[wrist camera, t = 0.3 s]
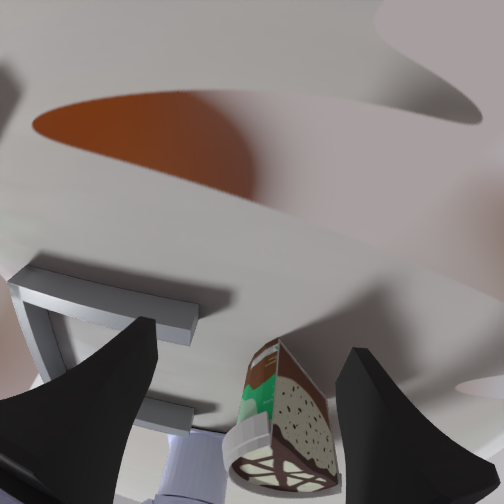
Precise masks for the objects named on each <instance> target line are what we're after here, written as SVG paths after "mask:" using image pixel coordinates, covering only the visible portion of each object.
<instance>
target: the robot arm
mask: <svg viewBox="0 0 504 504" xmlns="http://www.w3.org/2000/svg"><path fill="white" fill-rule="evenodd" d="M157 361H158V350H157V335H156V319H152V318H147V317H143V316H139V317H138V318H137V319H135V320H134V321H133V322H132V323H131V324H129V325H128V326H127V327H126V328H125V329H124V330H123V331H121V332H120V333H119V334H118V335H117V336H115V337H114V338H113V339H112V340H111V341H109V342H108V343H107V344H106V345H104V346H103V347H102V348H101V349H99V350H98V351H97V352H95V353H94V354H93V355H91V356H90V357H88V358H87V359H86V360H84V361H83V362H81V363H80V364H78V365H77V366H75V367H74V368H72V369H71V370H69V371H67V372H66V373H64V374H62V375H61V376H59V377H57V378H55V379H53V380H51V381H49V382H47V383H45V384H43V385H41V386H39V387H37V388H34V389H32V390H29V391H27V392H24V393H22V394H19V395H16V396H13V397H10V398H7V399H3V400H0V504H113V499H114V494H115V488H116V483H117V478H118V474H119V470H120V465H121V461H122V457H123V454H124V450H125V446H126V443H127V439H128V436H129V433H130V430H131V428H132V425H133V423H134V421H135V418H136V416H137V414H138V411H139V409H140V407H141V404H142V402H143V400H144V397H145V395H146V393H147V391H148V388H149V386H150V384H151V381H152V378H153V375H154V371H155V368H156V364H157ZM336 405H337V412H338V418H339V424H340V429H341V435H342V441H343V447H344V453H345V462H346V504H475V503H477V502H478V501H480V500H481V499H483V498H484V497H485V496H487V495H489V494H490V493H491V492H493V491H494V490H495V489H496V488H497V487H498V486H499V485H500V479H499V476H498V474H497V471H496V468H495V465H494V464H492V463H490V462H488V461H486V460H484V459H482V458H480V457H478V456H476V455H474V454H473V453H471V452H469V451H468V450H466V449H465V448H463V447H462V446H460V445H459V444H457V443H456V442H454V441H453V440H452V439H450V438H449V437H448V436H446V435H445V434H444V433H443V432H441V431H440V430H439V429H438V428H437V427H435V426H434V425H433V424H432V423H431V422H430V421H429V420H428V419H427V418H426V417H425V416H424V415H423V414H422V413H421V412H420V411H419V410H418V409H417V408H416V407H415V406H414V405H413V404H412V403H411V402H410V401H409V399H408V398H407V397H406V396H405V395H404V394H403V393H402V391H401V390H400V389H399V388H398V387H397V385H396V384H395V383H394V382H393V380H392V379H391V378H390V376H389V375H388V374H387V373H386V371H385V370H384V369H383V368H382V366H381V365H380V364H379V362H378V361H377V360H376V358H375V357H374V356H373V355H372V353H371V352H370V351H369V350H368V349H367V348H354V347H353V348H352V350H351V352H350V354H349V356H348V359H347V361H346V363H345V365H344V367H343V369H342V371H341V373H340V375H339V377H338V379H337V381H336ZM225 435H226V434H222V433H216V432H210V431H204V430H199V429H194V428H191V431H190V435H189V438H185V437H180V436H176V435H171V434H168V441H169V452H168V456H167V460H166V464H165V467H164V471H163V475H162V479H161V483H160V487H159V491H158V494H156V495H155V499H154V500H152V499H147V500H146V501H143V502H142V504H224V503H225V495H226V486H227V478H228V473H227V471H226V469H225V466H224V460H223V452H222V442H223V439H224V437H225Z"/></svg>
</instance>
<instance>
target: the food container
mask: <svg viewBox="0 0 504 504" xmlns="http://www.w3.org/2000/svg"><path fill="white" fill-rule="evenodd" d="M222 452H223V460H224V466H225V469H226V471H227V473H228V477H229V478H230V480H231V481H232V482H233V483H234V484H236V485H237V486H239V487H240V488H242V489H244V490H247V491H249V492H252V493H255V494H259V495H263V496H268V497H275V498H286V499H305V498H317V497H324V496H329V495H334V494H339V493H342V492H341V487H342V474H341V473H340V474H339V470H338V463H337V456H336V450H335V444H334V438H333V432H332V426H331V420H330V414H329V409H328V403H327V398H326V396H325V395H324V394H323V393H322V391H321V390H320V389H319V388H318V386H317V385H316V384H315V383H314V381H313V380H312V379H311V378H310V376H309V375H308V374H307V373H306V371H305V370H304V369H303V368H302V366H301V365H300V364H299V363H298V361H297V360H296V359H295V358H294V356H293V355H292V354H291V352H290V351H289V350H288V349H287V347H286V346H285V345H284V343H283V342H282V341H281V340H280V338H279V337H278V338H276V339H274V340H272V341H270V342H268V343H267V344H265V345H264V346H263V347H262V348H261V349H260V350H259V351H258V352H257V353H255V354H254V356H253V358H252V360H251V362H250V364H249V367H248V371H247V376H246V381H245V386H244V391H243V395H242V400H241V405H240V409H239V414H238V419H237V423H236V426H234V427H233V428H232V429H231V430H230V431H229V432H228V433H227V434H226V435H225V437H224V439H223V442H222Z"/></svg>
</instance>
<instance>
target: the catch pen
mask: <svg viewBox="0 0 504 504" xmlns="http://www.w3.org/2000/svg"><path fill="white" fill-rule="evenodd" d="M7 283H8V287H9V291H10V294H11V297H12V301H13V304H14V308H15V311H16V314H17V317H18V320H19V323H20V326H21V329H22V331H23V334H24V337H25V340H26V342H27V345H28V347H29V350H30V352H31V355H32V357H33V360H34V362H35V365H36V367H37V369H38V371H39V374H40V376H41V378H42V380H43V382H44V384H45V383H47V382H49V381H51V380H53V379H55V378H57V377H59V376H61V375H62V374H64V373H66V372H67V371H66V368H65V365H64V363H63V360H62V357H61V354H60V351H59V348H58V345H57V342H56V338H55V335H54V332H53V329H52V325H51V322H50V318H49V314H48V311H47V309H48V310H51V311H54V312H57V313H60V314H63V315H67V316H70V317H73V318H76V319H80V320H83V321H87V322H90V323H94V324H97V325H101V326H104V327H108V328H112V329H116V330H119V331H123V330H124V329H125V328H126V327H127V326H128V325H129V324H131V323H132V322H133V321H134V320H135V319H137V318H138V317H139V316H143V317H147V318H152V319H156V335H157V340H161V341H166V342H170V343H175V344H180V345H185V346H190V345H191V341H192V338H193V335H194V332H195V329H196V326H197V323H198V318H199V304H195V303H190V302H184V301H179V300H174V299H169V298H164V297H159V296H154V295H149V294H144V293H139V292H135V291H130V290H125V289H121V288H116V287H112V286H107V285H103V284H99V283H94V282H90V281H86V280H82V279H78V278H74V277H70V276H66V275H62V274H58V273H54V272H50V271H47V270H43V269H39V268H36V267H32V266H28V265H26V266H25V267H24V268H22V269H21V270H20V271H19V272H18V273H16V274H15V275H14V276H13V277H12V278H11V279H9V280H8V281H7ZM193 418H194V408H191V407H186V406H181V405H177V404H172V403H168V402H163V401H159V400H155V399H151V398H147V397H144V400H143V402H142V404H141V407H140V409H139V411H138V414H137V416H136V418H135V421H134V423H133V425H136V426H140V427H143V428H147V429H151V430H155V431H159V432H163V433H167V434H171V435H176V436H180V437H185V438H189V435H190V431H191V426H192V422H193Z"/></svg>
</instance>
